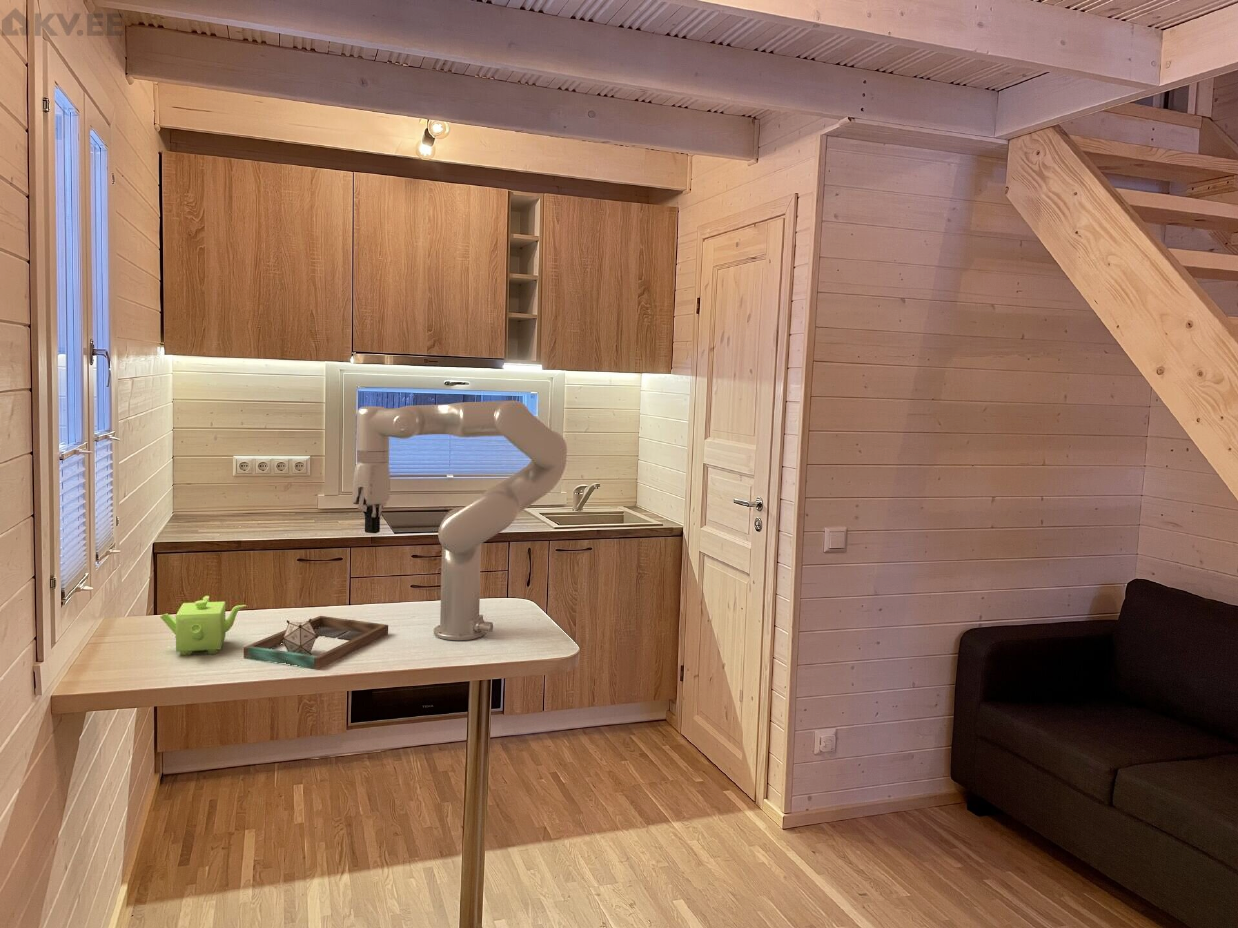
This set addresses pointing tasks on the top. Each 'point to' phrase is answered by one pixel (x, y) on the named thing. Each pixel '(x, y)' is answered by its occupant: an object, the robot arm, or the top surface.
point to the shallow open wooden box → (331, 627)
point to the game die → (299, 637)
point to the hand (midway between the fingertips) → (372, 532)
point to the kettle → (200, 625)
